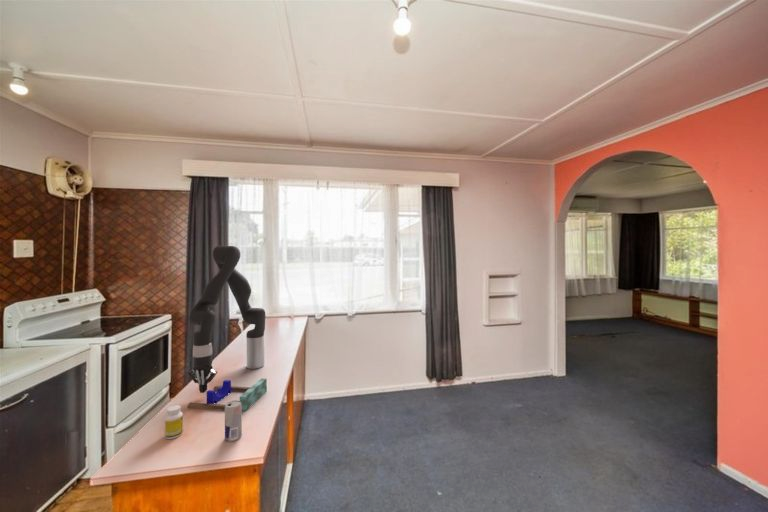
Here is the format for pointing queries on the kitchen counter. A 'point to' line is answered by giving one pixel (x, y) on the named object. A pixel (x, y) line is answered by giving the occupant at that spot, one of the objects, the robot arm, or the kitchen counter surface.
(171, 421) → the supplement bottle
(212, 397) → the cable clip
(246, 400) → the guide channel
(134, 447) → the kitchen counter surface
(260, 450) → the kitchen counter surface
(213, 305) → the robot arm
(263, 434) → the kitchen counter surface
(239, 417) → the energy drink
